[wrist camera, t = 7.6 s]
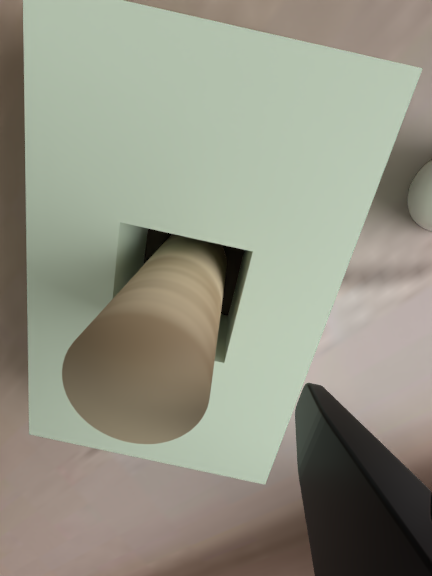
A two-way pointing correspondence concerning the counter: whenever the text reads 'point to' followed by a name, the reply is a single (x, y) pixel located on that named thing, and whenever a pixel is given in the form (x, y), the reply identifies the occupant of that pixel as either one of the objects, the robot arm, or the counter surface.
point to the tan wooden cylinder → (152, 347)
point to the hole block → (196, 198)
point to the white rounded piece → (421, 197)
